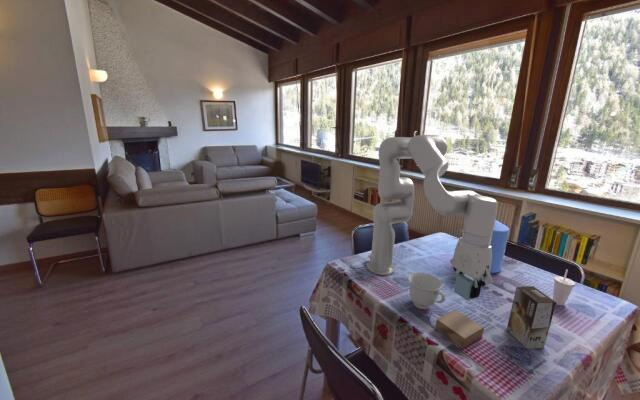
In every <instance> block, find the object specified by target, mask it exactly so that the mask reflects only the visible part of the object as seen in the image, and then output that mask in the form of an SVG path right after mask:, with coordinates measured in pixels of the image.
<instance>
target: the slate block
mask: <svg viewBox="0 0 640 400" xmlns="http://www.w3.org/2000/svg"><path fill="white" fill-rule="evenodd" d="M478 283H479V279H478ZM472 286H474V281H473V278H471V277H470V276H468V275H466V274H464V273H461V274H457V275H456V277H455V281H454V288H453V293H455V294H456V295H458V296H460V297H461V298H463V299H464V300H465V301H470V300H473V299H476V298H478V297H476V298H473V299H471V298H470V293H471V288H472Z"/></svg>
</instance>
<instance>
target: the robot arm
mask: <svg viewBox="0 0 640 400" xmlns="http://www.w3.org/2000/svg"><path fill="white" fill-rule="evenodd" d="M447 151H448V143H447V141H446V139H445V138H444V137H442V136H440V135H437V134H436V135H435V134H418V135H415V136H411V137H409V136H407V137H406V136H394V137H393V136H391V137H388V138H385V139H384V140H383V141H382V142H381V143H380V146H379V148H378V161H379V171H378V172H379V173H378V187H377V188H378V189H377V192H378V196H379V198H380V199H381V200H386V202H380V203H379V202H378V203H377V204H375V205H374V207H373V209H372V219H373V233H372V244H371V253H370V254H368V256H367V257H368V258H369V261H368V262H367V263H366V269H367V271H369V272H370V273H371V274H374V275H378V276H390V275H392V274H394V273H395V270H396V267H395V266H394V265H393V259H394V258H393V257H394V256H393V255H394V249H395V241H396V240H395V239H396V232H395V229H394V228H393V224H399V223H400V224H401V223H406V222H409V221H410V219H411V218H412V215H413V212H414V209H413V208H414V203H415V193H416V192H415V189H416V188H415V184H414V182H413V180H412V179H411V178H409V177H406V176H401V165H400V162H399V161H398V160H399V159H400V160H403V159H405V160H407V159H408V160H409V159H412V160H414V163H415V165H417V167H418V169H420V171H421V173H422V174H423V176H424V179H423V192H424V196H425V198H426V199H427V201H428V203H429V204H430V206H431V207H432V208H433V210H434V211H436V213H437V214H439V215H441V216H443V217H448V216H449V217H452V216H458V215H459V216H461V215H464V216H465V219H464V223H463V224H464V225H463V228H461V229H460V233H462V237H461V236H460V237H459V239H458V240H457V243H456V245H455V248H454V253H453V255H452V256H453V257H452V258H451V259H450V260H449V263H450V264H451V266H452V269H453V272H454V271H455V276H456V275H457V274H461V273H464V274H466V275H468V276H470V277H471V278H473V281H474V286H472V288H471V293H470V298H471V299H470V300H473V298H474V299H476V297H477V298H479V297H480V295H481V291H482V287H484V286H487V285H492V284H494V279H493V277H492V273H490V269H491V262H492V246H490V243H491V238H492V233H493V228H494V223H495V218H496V219H497V213H498V208H499V203H498V200H497V199H495V198H493V197H490V196H486V195H485V196H484V195H481V194H480V193H477V192H475V191H474V190H468V189H464V190H463V189H462V190H461V189H460V190H449V191H448V190H446V189H445V186H443V184H442V182H441V181H440V177H442V176H443V175H444V174H445V173H446V172H447V170H448V169H449V162H448V161H447V159H446V158H445V157H444V156H445V155H446V154H447ZM390 200H391V201H390ZM393 200H396V201H393ZM455 276H454V277H455ZM478 279H479V283H478ZM484 279H485V280H484Z"/></svg>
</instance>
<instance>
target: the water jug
mask: <svg viewBox="0 0 640 400" xmlns="http://www.w3.org/2000/svg"><path fill="white" fill-rule="evenodd" d="M509 235H510V228H509V227H508V226H507V225H505V224H504V223H502V222H500V221H498V220H497V217H496V218H495V223H494V228H493V233H492V238H491V243H490V246H492V262H491V269H490V274H496V273H500V272H501V270H502V266H503V265H502V264H503V261H504V256H505V253H506V247H507V244H508V239H509Z"/></svg>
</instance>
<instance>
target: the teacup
mask: <svg viewBox="0 0 640 400" xmlns="http://www.w3.org/2000/svg"><path fill="white" fill-rule="evenodd" d="M407 281H408V282H409V296H410V300H411V301H412V302H413V305H414V307H416V308H418V309H419V310H427V309H430V307H431V306H432V305H434V304H435V303H436V304H443V303H444V302H445V300H446V294H445V292H444V291H442V290H441V289H442V288H443V286H444V285H443V283H442V281H441V280H440V278H438V277H436V276H434V275H431V274H428V273H424V272H413V273H411V274H409V275H408V276H407ZM439 295H440V296H441V298H440V299H437V298H438V296H439Z"/></svg>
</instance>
